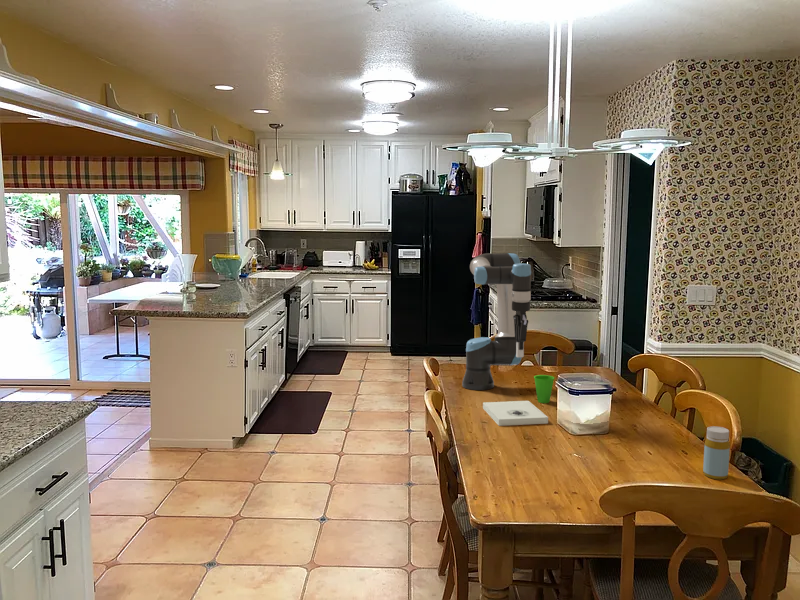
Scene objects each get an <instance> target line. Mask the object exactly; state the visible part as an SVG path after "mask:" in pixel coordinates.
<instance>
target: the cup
mask: <svg viewBox="0 0 800 600" xmlns="http://www.w3.org/2000/svg"><path fill="white" fill-rule="evenodd" d="M533 378H534V384H535V391H536V399H537V402H538V403H541V404H549V403H550V402H551V395H552V390H553V386H554V381H555V379H556V378H555V377H554V376H553V375H550V374H549V375H547V374H538V375H536V374H535V375H534V376H533Z"/></svg>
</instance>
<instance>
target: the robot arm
mask: <svg viewBox="0 0 800 600" xmlns="http://www.w3.org/2000/svg"><path fill="white" fill-rule="evenodd" d="M469 270H470V272H471V274H472V275H473V279H474V281H473V282H474V283H475V284H476V285H482V286H483V285H496V292H497V293H496V294H497V296H496V298H497V301H496V302H497V303H496V304H497V308H496V309H497V334H496V335H495V336H494V340H492V339H491V337H485V336H481V337H474V338H470V339H469V340H467V342H466V345H465V347H466V348H465V352H466V353H465V355H466V356H465V357H466V358H465V359H466V361H465V373H464V376H463V378H462V384H461V386H462V388H464V389H467V390H471V391H472V390H473V391H474V390H475V391H486V390H491V389H494V387H495V382H494V377H493V375H492V372H491V366H513V365H514V366H516V365H519V364H520V363H521V361H522V358H524V356H525V353H524V352H525V349H524V348H525V346H524V345H525V342H526V341H527V334H528V333H527V332H528V324H529V319H527V318H528V316H527V313H526V312H530V310H531V299H532V298H531V293H532V290H531V285H532V282H531V281H532V265H531V264H529V263H521V260H520V257H519V255H518V254H516V253H512V252H511V253H509V252H506V253H505V252H499V253H498V252H497V253H495V252H494V253H489V252H487V253H483V254H481V253H480V254H479V255H477V256H475V257H473V259H472V260H470V264H469Z"/></svg>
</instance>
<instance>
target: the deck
mask: <svg viewBox="0 0 800 600" xmlns="http://www.w3.org/2000/svg"><path fill="white" fill-rule="evenodd" d="M482 409H483V410H484V412H486V413H487V414H488V416H489V417H490V418H491V419H492V420H493V421H494V422H495V423H496V425H498V426H500V427H502V426H521V425H522V426H525V425H539V424H540V425H543V424H549V416H547V415H546V414H545V413H544V412H543V411H542V410H540V409H539V408H538V407H536V406H535V405H534V404H533V403H532V402H531V401H529V400H514V401H513V400H511V401H488V402H487V401H486V402H482ZM515 411H519V412H521V415H515V414H514V412H515Z"/></svg>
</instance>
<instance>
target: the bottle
mask: <svg viewBox="0 0 800 600" xmlns="http://www.w3.org/2000/svg"><path fill="white" fill-rule="evenodd" d="M729 437H730V430H729V429H728V428H725V427H723V426H714V425H712V426H708V427H707V428H706V438H705V441H704V448H703V449H704V450H703V466H702V470H703V475H704V476H705V477H707V478H709V479H712V480H717V481H718V480H719V481H720V480H726V479H727V478H728V476H729V467H730V466H729V465H730V464H729V463H730V450H731V449H730V448H731V447H730V446H731V445H730V443H729Z"/></svg>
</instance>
